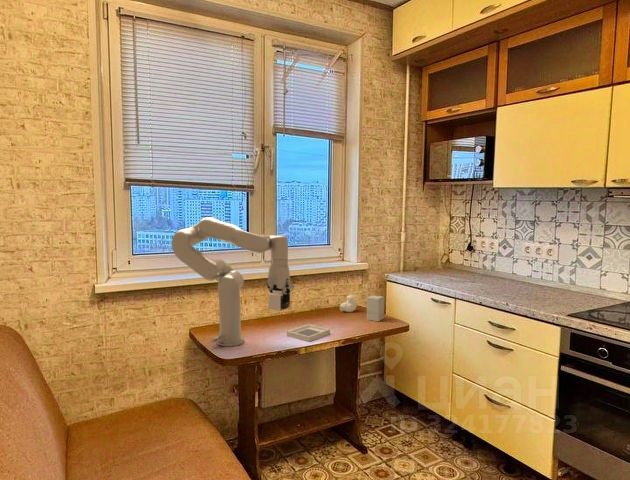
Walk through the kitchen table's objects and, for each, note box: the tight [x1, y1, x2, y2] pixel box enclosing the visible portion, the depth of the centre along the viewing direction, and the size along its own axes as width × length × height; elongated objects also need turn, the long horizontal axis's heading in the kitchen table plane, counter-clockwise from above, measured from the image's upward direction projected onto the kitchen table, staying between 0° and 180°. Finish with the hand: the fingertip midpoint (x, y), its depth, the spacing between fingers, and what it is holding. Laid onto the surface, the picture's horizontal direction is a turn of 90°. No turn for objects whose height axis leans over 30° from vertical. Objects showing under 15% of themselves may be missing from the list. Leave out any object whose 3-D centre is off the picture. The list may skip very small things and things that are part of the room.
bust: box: [339, 294, 358, 313], centre depth 256 cm, size 12×8×11 cm
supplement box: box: [366, 294, 385, 322], centre depth 239 cm, size 7×7×13 cm
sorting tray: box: [286, 323, 331, 342], centre depth 211 cm, size 16×14×2 cm
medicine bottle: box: [267, 284, 291, 312], centre depth 197 cm, size 7×7×12 cm
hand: (279, 301), depth 197 cm, fingers closed on medicine bottle, 7 cm apart
